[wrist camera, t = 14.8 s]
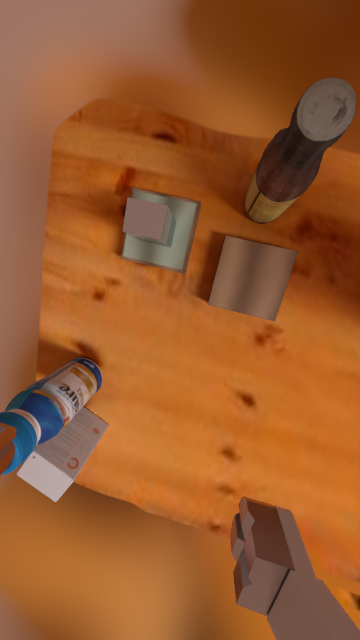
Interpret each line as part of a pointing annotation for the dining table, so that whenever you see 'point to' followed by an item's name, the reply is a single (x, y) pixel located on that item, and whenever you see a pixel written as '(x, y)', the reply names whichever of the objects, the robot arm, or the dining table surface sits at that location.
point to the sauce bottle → (300, 149)
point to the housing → (149, 222)
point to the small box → (63, 455)
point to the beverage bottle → (49, 406)
